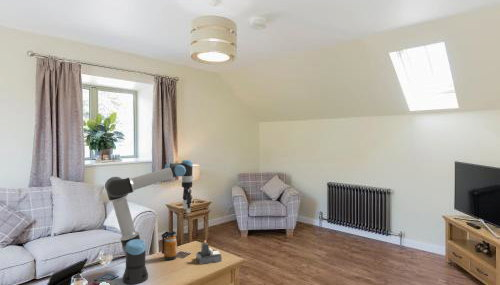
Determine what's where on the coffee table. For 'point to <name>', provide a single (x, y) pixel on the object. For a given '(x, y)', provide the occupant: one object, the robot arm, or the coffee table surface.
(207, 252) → the plug
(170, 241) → the canister
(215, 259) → the socket
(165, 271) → the coffee table surface
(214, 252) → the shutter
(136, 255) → the robot arm
